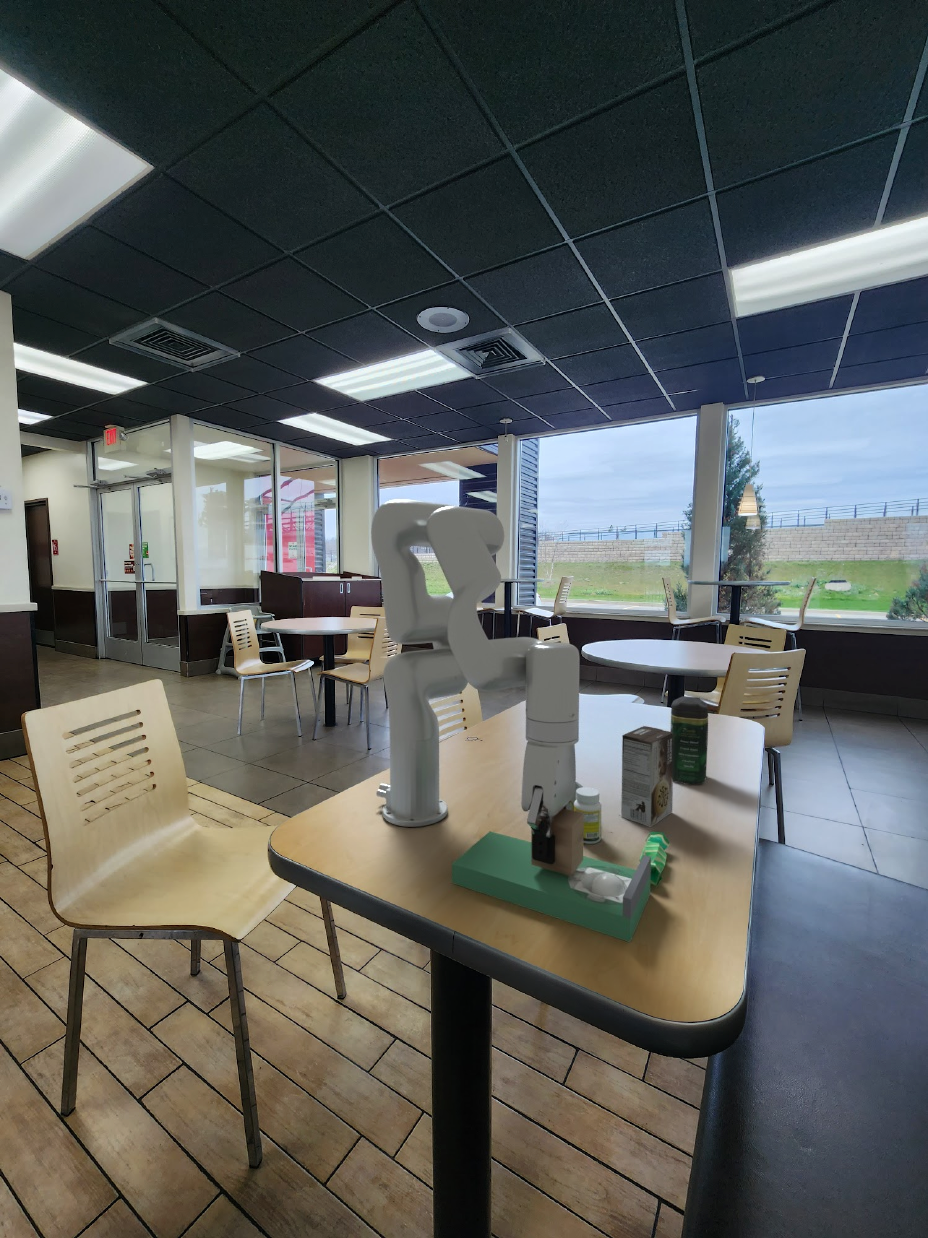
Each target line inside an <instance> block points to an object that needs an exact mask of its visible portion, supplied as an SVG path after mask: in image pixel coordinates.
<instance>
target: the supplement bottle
mask: <svg viewBox="0 0 928 1238" xmlns="http://www.w3.org/2000/svg"><path fill="white" fill-rule="evenodd" d="M574 811H576V812H580V813H584V827H583V844H588V845H594V844H597V843H600V841H601V839H602V803H601V801H600V791H599V790H598V789H596V788H593V787H588V786H587V787H586V786H585V787H584V786H583V787H581V788H578V789H577V790H576V800H575V802H574Z"/></svg>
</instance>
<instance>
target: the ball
mask: <svg viewBox="0 0 928 1238" xmlns="http://www.w3.org/2000/svg"><path fill="white" fill-rule="evenodd" d="M592 893H593V894H596V895H600V896H603V897H617V896H619V895H622V894H624V893H625V890H624V886H623V884H622V882H621V881H620V880H619V879H618V878H617V877H616V876H614V875H612V874H609V873H604V874H601V875H599V876H597V877H596V878H595V880H594V881H593V884H592Z"/></svg>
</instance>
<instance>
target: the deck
mask: <svg viewBox="0 0 928 1238" xmlns="http://www.w3.org/2000/svg"><path fill="white" fill-rule="evenodd" d="M604 873H609V874H612V875H614V876H616V877H617V878H618V879H619V880H620V881H621V882H622V884H623V886H624V890H625V893H624V894H622V895H619V896H617V897H603V896H600V895H596V894H593V893H592V884H593V881H594V880H595V878H596V877H597V876H599V875H601V874H604ZM650 879H651V857H650V856H646V855H643V857H642V859H641V861H640V860H639V864H638V866H637V868H636V869H634V868H630V867H627V866H623V865H619V864H615V863H613V862H608V861H605V860H599V859H596V858H593V857H589V856H585V855H583V861H582V862H581V864H580V865H579V867H578V868H577V869H576V871H575V872H574V874H573V875H572V876H569V875H566V874H562V873H559V872H555V871H552V870H548V869H545V868H541V867H538V866H534V865H531V841H528V840H524V839H520V838H517V837H513V836H509V835H505V834H501V833H497V832H494V831H488V832H487V833H486V834H485V835H484V836H482V837H481V838H480V839H479V840H478V841H476V842H475V843H474V844H473V845H472V846H471V847H470V848H468V849H467V850H466V851H465V852H464V853H462V855H460V856H459V857H458V858H457V859H455V861H453V862H452V863H451V883H452V884H453V885H457V886H461V887H463V888H465V889H469V890H472V891H474V892H478V893H481V894H484V895H487V896H490V897H492V898H493V897H494V898H495V899H499V900H502V901H505V902H508V903H510V904H514V905H517V906H521V907H523V908H526V909H529V910H531V911H535V912H539V913H541V914H544V915H547V916H550V917H553V918H556V919H560V920H562V921H565V922H569V923H571V924H574V925H577V926H580V927H583V928H586V929H589V930H591V931H596V932H599V933H601V934H605V935H606V936H607V935H608V936H610V937H613V938H617V939H619V940H622V941H625V942H629V943H632V942H631V941H632V938H633V936H634V934H635V932H636V930H637V927H638V924H639V922H640V920H641V917H642V915H643V912H644V910H645V907H646V905H647V903H648V901H649V897H650V895H651V883H650Z"/></svg>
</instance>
